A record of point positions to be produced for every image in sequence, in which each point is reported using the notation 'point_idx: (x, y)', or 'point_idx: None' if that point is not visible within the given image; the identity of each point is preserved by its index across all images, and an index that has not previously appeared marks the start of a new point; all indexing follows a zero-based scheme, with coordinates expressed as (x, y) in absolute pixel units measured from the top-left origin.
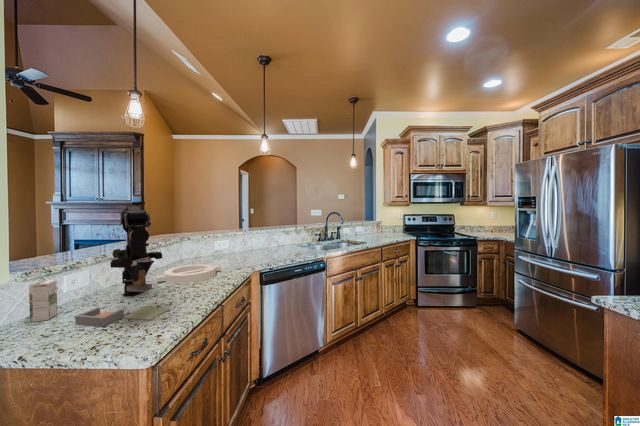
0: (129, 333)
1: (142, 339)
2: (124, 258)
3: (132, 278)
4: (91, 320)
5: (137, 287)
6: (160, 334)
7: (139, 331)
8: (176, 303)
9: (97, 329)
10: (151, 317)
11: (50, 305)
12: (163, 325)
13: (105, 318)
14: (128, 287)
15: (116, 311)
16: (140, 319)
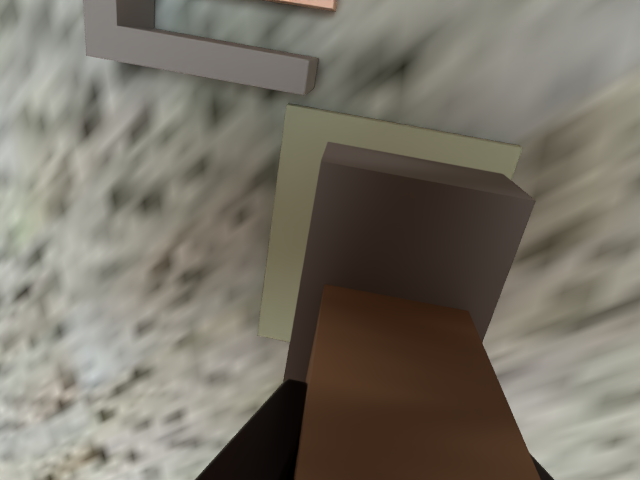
0: (84, 311)
1: (49, 406)
2: None
3: (250, 420)
4: None
5: (285, 369)
6: (110, 455)
7: (116, 349)
8: (589, 356)
9: (80, 44)
10: (283, 330)
11: None
12: (202, 429)
13: (116, 58)
14: (314, 201)
15: (249, 56)
16: (268, 260)
